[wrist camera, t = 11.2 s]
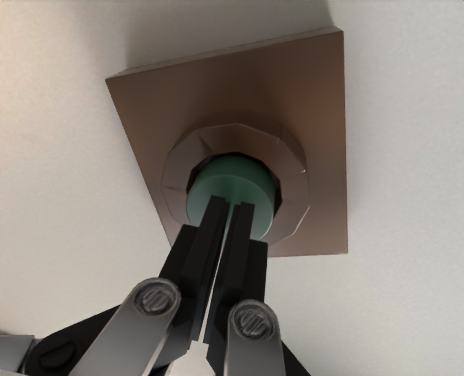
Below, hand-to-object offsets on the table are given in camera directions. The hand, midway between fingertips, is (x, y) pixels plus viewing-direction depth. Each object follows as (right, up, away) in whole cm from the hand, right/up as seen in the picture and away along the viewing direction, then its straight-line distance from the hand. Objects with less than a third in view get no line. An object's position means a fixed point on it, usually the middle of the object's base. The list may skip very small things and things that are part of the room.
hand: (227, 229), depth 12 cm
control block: (+1, +3, +5) cm, 6 cm away
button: (0, +1, +2) cm, 3 cm away
